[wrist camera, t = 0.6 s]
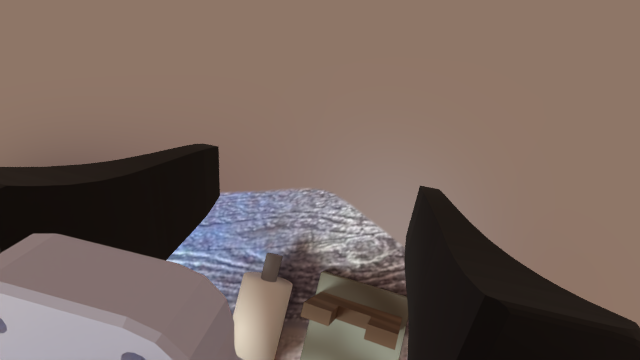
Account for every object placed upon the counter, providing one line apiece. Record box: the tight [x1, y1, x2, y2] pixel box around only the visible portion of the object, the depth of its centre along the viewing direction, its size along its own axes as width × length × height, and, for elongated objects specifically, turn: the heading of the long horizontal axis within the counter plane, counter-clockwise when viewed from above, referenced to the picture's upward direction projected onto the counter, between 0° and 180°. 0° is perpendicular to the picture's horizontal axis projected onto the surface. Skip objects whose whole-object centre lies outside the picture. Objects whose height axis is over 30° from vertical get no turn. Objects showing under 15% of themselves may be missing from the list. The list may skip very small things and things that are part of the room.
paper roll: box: [233, 253, 293, 360], centre depth 35 cm, size 13×5×5 cm, turn 166°
